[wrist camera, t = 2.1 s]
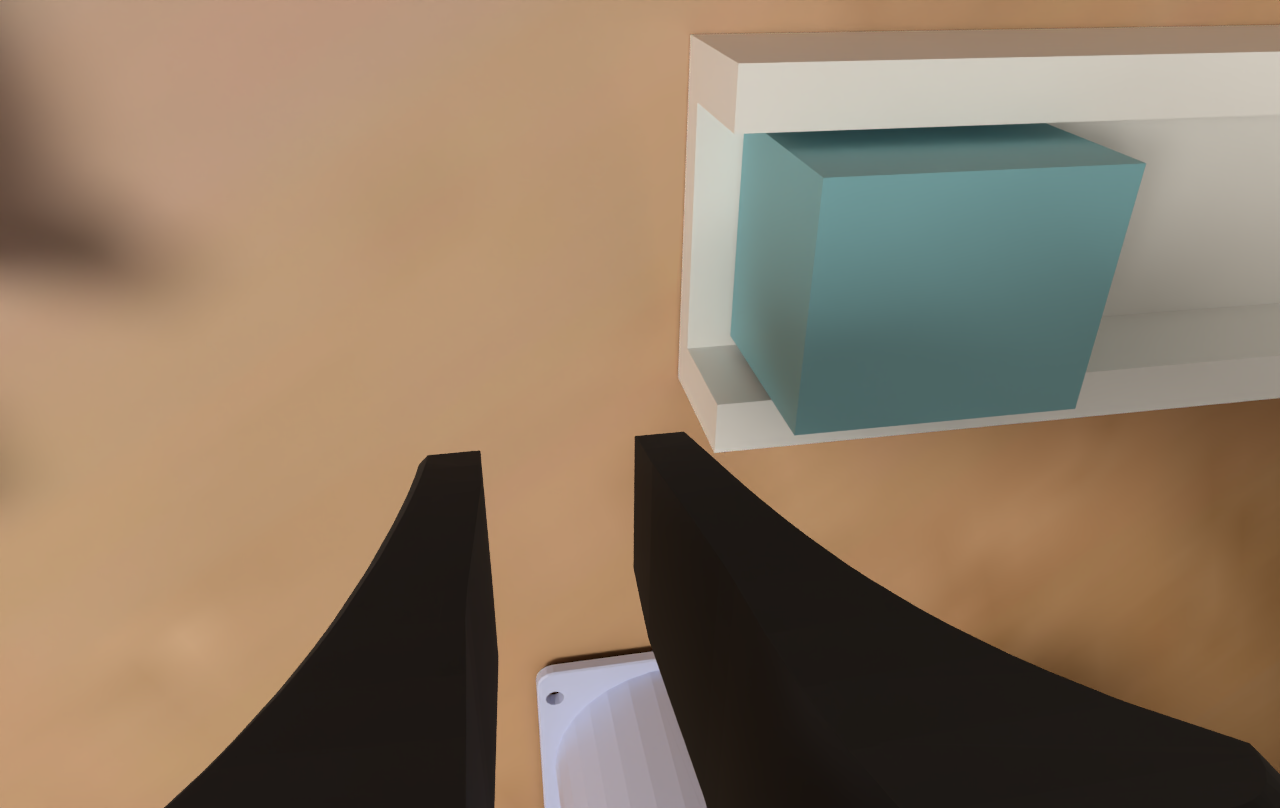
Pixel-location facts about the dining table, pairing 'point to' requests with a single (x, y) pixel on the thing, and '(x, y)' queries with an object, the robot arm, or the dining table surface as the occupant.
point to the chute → (1020, 94)
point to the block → (925, 270)
